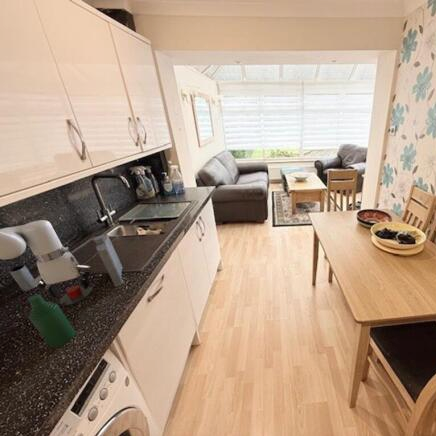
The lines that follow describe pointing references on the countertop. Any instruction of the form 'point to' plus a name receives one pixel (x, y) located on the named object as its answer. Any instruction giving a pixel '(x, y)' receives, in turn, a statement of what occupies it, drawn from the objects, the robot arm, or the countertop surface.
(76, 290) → the cap
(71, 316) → the countertop surface
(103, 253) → the grey flat block
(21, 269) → the grey cylinder
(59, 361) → the countertop surface
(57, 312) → the bottle
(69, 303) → the coaster
